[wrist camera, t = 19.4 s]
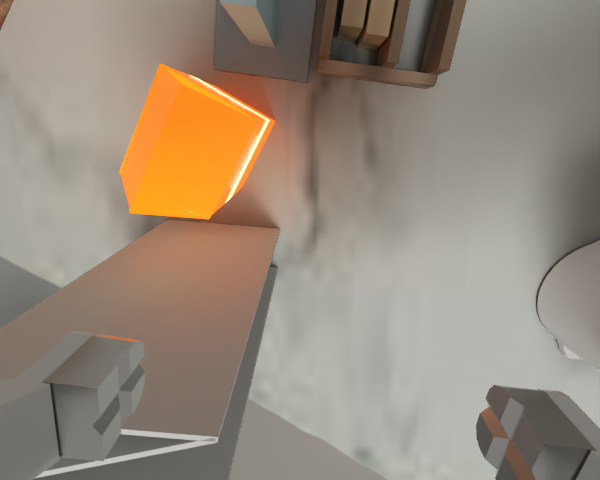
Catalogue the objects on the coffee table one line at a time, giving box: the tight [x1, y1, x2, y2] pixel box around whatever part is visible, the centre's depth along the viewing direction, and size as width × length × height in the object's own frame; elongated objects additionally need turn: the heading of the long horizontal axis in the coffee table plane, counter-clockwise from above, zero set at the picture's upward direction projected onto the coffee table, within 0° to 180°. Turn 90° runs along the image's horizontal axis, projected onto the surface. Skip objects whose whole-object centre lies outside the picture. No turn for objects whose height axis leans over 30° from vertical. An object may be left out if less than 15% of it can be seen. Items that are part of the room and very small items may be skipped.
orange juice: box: [119, 63, 275, 219], centre depth 30 cm, size 8×9×20 cm
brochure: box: [0, 220, 280, 480], centre depth 29 cm, size 14×6×30 cm, turn 86°
